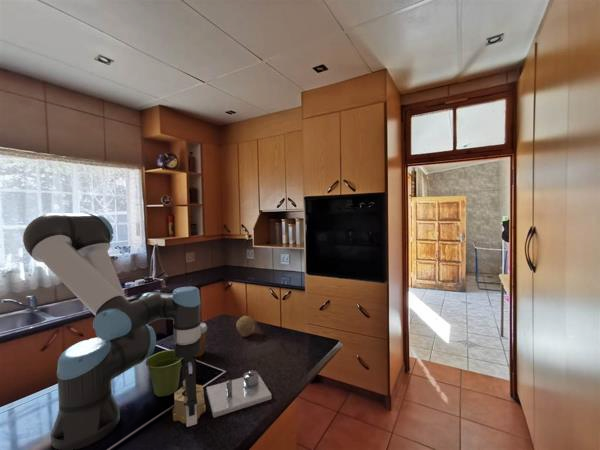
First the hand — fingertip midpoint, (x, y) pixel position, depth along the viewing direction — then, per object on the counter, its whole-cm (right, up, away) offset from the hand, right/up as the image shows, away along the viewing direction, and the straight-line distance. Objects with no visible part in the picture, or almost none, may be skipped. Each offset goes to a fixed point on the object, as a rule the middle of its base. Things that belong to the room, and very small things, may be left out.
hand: (189, 411), depth 84 cm
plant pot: (-12, 0, +11) cm, 16 cm away
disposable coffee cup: (-12, 0, +37) cm, 39 cm away
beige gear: (0, 0, 0) cm, 0 cm away
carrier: (+13, 0, +8) cm, 15 cm away
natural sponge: (+6, +1, +55) cm, 55 cm away
